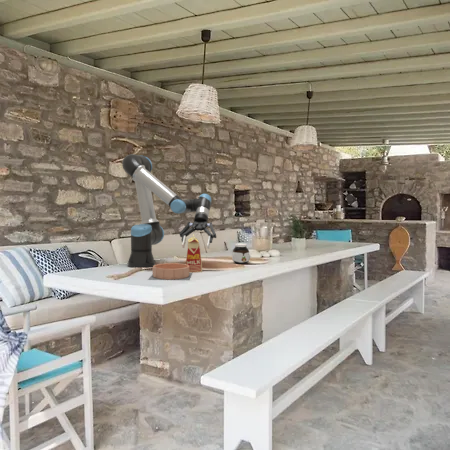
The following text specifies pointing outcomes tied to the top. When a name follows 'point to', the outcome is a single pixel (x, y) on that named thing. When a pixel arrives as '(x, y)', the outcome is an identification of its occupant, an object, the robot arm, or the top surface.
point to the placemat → (175, 279)
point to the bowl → (171, 271)
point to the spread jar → (240, 254)
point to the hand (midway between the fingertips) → (195, 246)
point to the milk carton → (194, 255)
